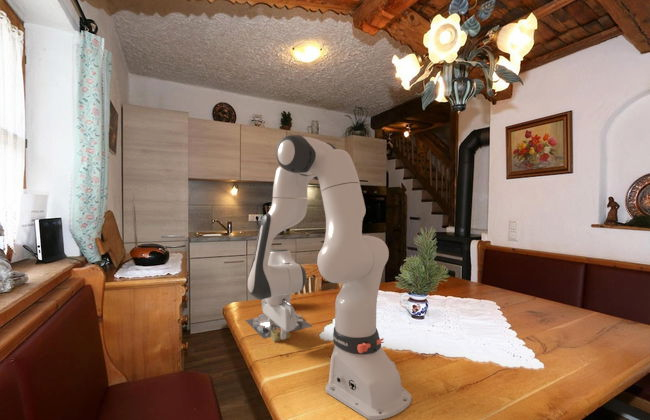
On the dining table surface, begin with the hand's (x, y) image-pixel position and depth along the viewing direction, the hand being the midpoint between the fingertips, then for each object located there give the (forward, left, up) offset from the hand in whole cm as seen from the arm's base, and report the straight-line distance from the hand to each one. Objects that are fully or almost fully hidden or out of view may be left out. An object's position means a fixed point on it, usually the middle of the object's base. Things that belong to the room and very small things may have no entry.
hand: (277, 333), depth 106 cm
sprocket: (+12, -6, -1) cm, 13 cm away
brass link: (-1, -1, -3) cm, 3 cm away
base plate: (+12, -6, -2) cm, 13 cm away
